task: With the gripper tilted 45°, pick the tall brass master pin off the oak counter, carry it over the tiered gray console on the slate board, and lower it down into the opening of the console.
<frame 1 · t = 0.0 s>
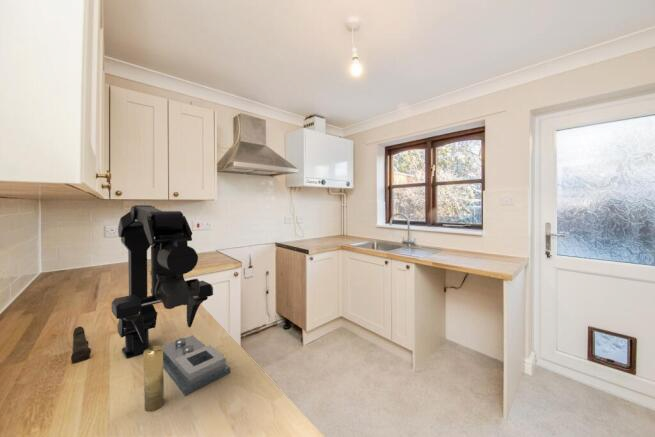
hand: (167, 333, 58), 15 cm above the worktop, tool pointing down, fingers open, 9 cm apart
tiered gray console: (191, 365, 70), on the worktop
master pin: (154, 405, 56), on the worktop
hand tool: (77, 351, 77), on the worktop
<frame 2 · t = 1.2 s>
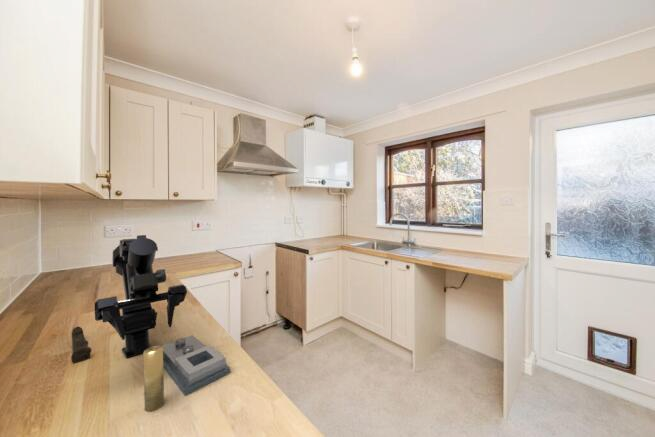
hand: (148, 332, 61), 13 cm above the worktop, tool tilted 45°, fingers open, 9 cm apart
nothing on the worktop moved.
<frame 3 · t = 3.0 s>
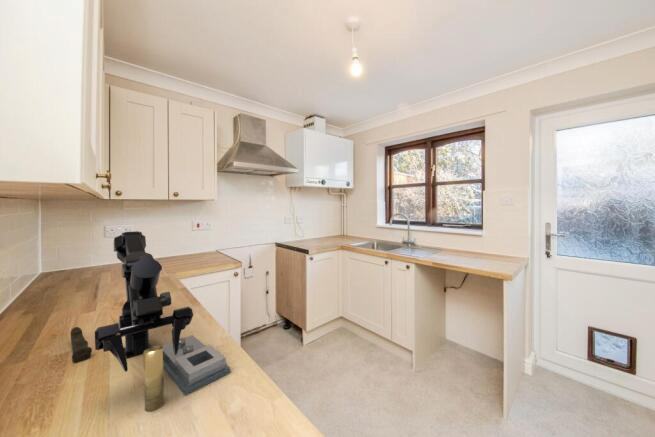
hand: (152, 362, 56), 9 cm above the worktop, tool tilted 45°, fingers open, 9 cm apart
nothing on the worktop moved.
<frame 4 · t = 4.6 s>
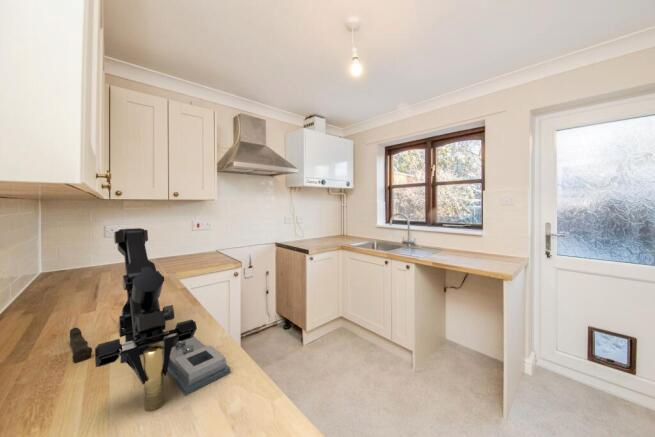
hand: (155, 379, 54), 7 cm above the worktop, tool tilted 45°, fingers closed on master pin, 3 cm apart
master pin: (154, 405, 56), on the worktop, touching gripper
everything else where it was.
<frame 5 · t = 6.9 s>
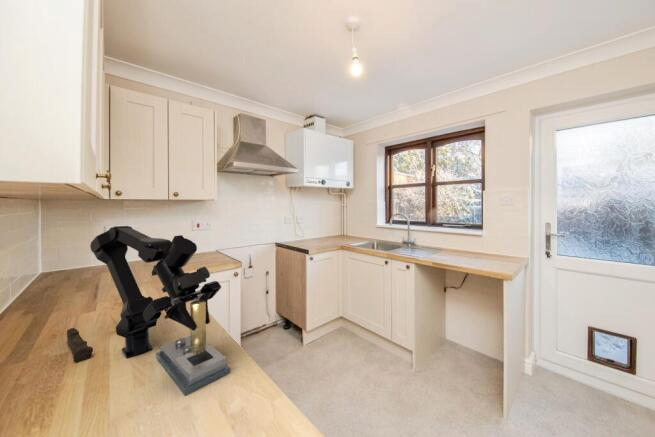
hand: (202, 326, 64), 13 cm above the worktop, tool tilted 45°, fingers closed on master pin, 3 cm apart
master pin: (198, 350, 65), point 7 cm above the worktop, touching gripper
everything else where it was.
when the fingers open (9 cm above the worktop, at t = 9.3 s): master pin stays where it is, resting on tiered gray console.
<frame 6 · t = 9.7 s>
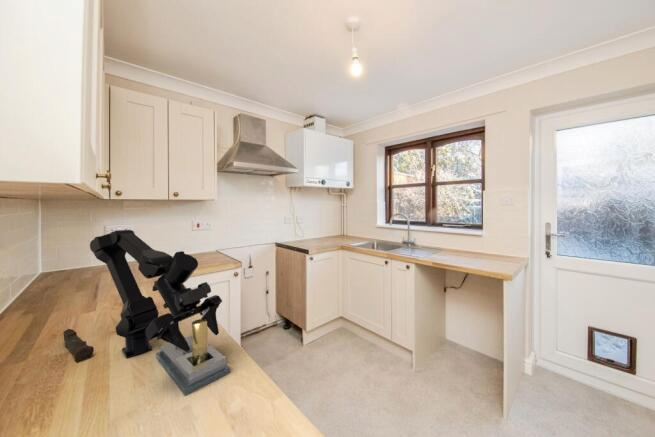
hand: (203, 342, 65), 9 cm above the worktop, tool tilted 45°, fingers open, 8 cm apart
master pin: (200, 369, 66), point 2 cm above the worktop, touching tiered gray console
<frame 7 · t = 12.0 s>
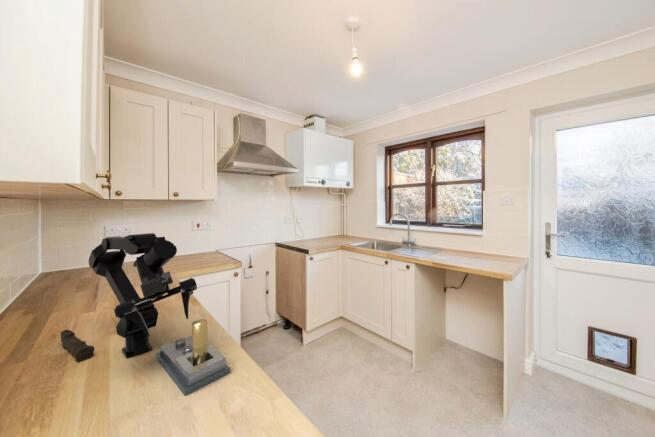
hand: (168, 327, 68), 11 cm above the worktop, tool tilted 30°, fingers open, 9 cm apart
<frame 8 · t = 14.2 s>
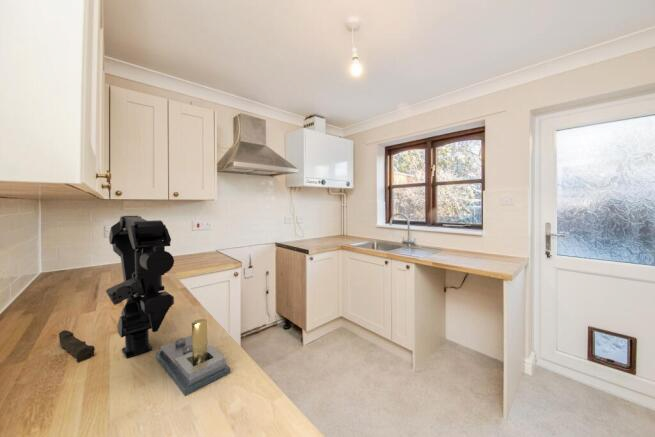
hand: (149, 325, 67), 12 cm above the worktop, tool pointing down, fingers open, 9 cm apart
at the end: master pin 0.1 cm from the target spot on the tiered gray console, point 1.5 cm above the tiered gray console's base; master pin tilted 0°; the gripper is holding nothing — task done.
